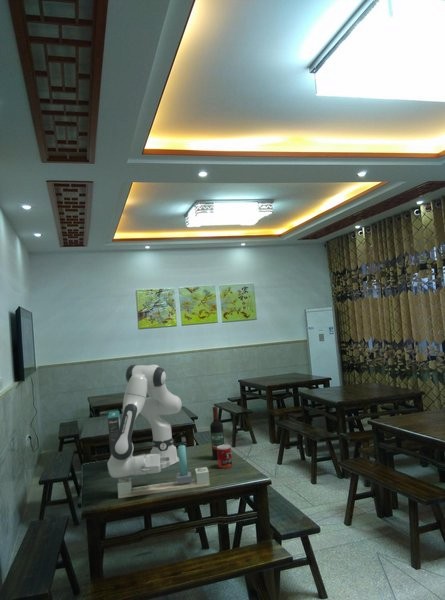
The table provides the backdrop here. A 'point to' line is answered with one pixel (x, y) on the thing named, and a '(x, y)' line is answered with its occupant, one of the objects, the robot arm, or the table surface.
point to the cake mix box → (113, 426)
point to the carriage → (183, 467)
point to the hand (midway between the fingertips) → (169, 461)
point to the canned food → (224, 456)
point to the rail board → (162, 485)
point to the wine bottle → (216, 433)
